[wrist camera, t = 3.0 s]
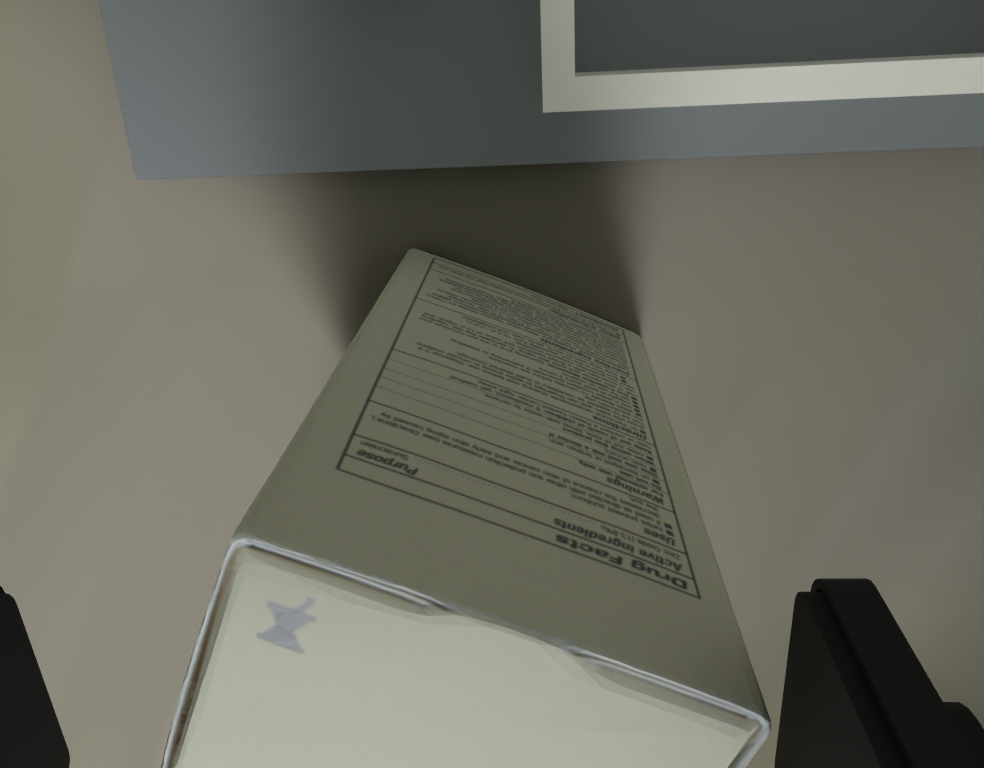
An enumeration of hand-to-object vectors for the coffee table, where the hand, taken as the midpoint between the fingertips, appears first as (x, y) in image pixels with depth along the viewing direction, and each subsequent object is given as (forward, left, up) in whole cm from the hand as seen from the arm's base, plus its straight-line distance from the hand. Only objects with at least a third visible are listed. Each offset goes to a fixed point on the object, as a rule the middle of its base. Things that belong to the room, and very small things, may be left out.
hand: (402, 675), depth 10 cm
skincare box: (0, +1, -12) cm, 12 cm away
